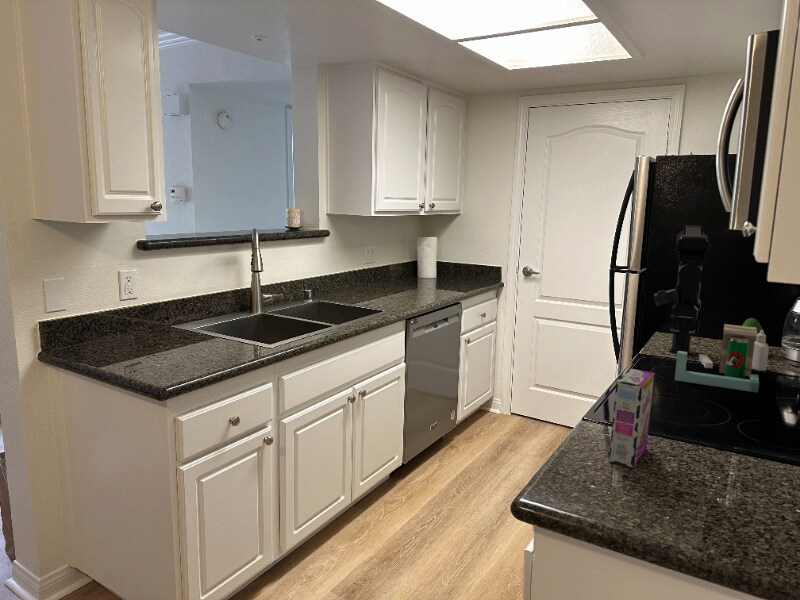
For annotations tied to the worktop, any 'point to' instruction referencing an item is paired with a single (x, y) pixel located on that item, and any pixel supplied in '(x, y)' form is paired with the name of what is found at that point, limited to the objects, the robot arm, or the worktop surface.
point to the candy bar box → (631, 417)
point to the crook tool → (713, 377)
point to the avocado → (753, 325)
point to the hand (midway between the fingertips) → (683, 336)
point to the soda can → (737, 357)
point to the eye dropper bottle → (760, 353)
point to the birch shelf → (738, 331)
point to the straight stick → (705, 361)
